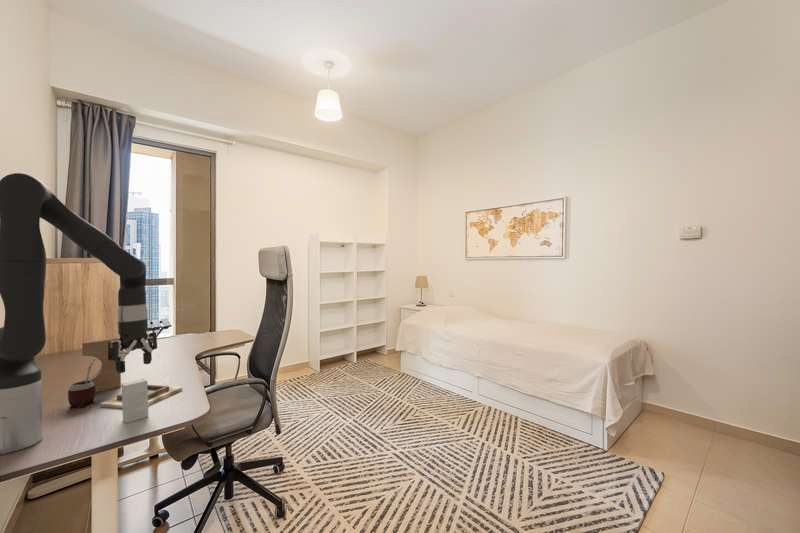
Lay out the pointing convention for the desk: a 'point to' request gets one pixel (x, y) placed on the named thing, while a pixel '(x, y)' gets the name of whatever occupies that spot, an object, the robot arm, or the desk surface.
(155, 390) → the tan wooden flat frame
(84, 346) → the decorative block
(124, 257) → the robot arm
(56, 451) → the desk surface
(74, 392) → the mate gourd
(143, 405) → the skincare box
